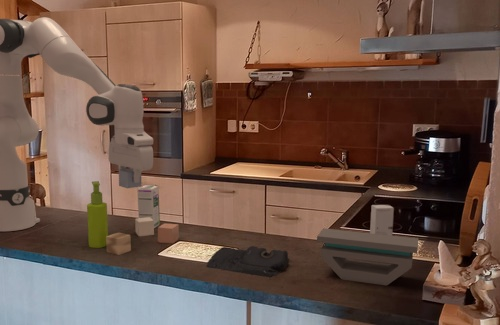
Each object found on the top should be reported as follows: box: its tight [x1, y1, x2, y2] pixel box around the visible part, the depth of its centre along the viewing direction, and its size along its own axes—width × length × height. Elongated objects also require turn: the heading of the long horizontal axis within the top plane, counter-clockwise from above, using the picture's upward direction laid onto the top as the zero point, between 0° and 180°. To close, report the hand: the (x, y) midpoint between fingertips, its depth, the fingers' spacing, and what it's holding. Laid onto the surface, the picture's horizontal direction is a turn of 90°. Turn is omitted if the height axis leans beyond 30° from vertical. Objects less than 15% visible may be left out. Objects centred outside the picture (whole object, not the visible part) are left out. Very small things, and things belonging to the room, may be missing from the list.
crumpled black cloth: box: [206, 245, 290, 278], centre depth 141 cm, size 15×22×5 cm
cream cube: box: [134, 217, 155, 237], centre depth 168 cm, size 5×5×5 cm
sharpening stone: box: [316, 227, 419, 286], centre depth 131 cm, size 25×8×11 cm, turn 70°
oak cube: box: [106, 232, 132, 256], centre depth 150 cm, size 5×5×5 cm
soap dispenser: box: [86, 180, 109, 249], centre depth 155 cm, size 6×7×20 cm
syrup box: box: [137, 184, 161, 229], centre depth 176 cm, size 6×6×14 cm
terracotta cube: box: [157, 222, 180, 244], centre depth 161 cm, size 5×5×5 cm
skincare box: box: [369, 204, 395, 236], centre depth 159 cm, size 6×4×12 cm
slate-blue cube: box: [118, 168, 143, 189], centre depth 157 cm, size 5×5×5 cm
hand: (130, 180), depth 157 cm, fingers closed on slate-blue cube, 5 cm apart
